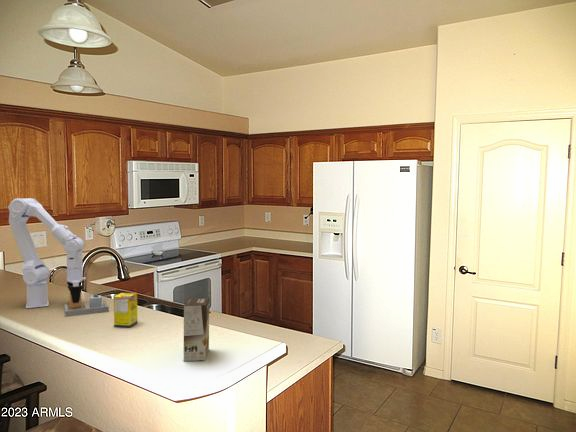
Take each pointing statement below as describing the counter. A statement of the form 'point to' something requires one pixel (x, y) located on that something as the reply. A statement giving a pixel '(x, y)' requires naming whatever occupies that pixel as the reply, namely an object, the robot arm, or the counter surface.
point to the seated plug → (95, 301)
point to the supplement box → (125, 309)
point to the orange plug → (74, 303)
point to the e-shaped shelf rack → (86, 309)
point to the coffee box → (196, 329)
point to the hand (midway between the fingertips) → (75, 300)
